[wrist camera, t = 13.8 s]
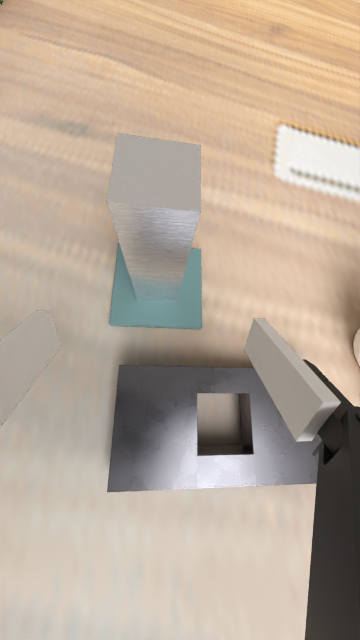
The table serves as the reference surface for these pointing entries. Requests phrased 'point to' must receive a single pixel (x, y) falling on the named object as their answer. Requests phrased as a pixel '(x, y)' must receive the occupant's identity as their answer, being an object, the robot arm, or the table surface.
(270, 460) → the block
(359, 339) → the mug
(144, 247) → the steel peg
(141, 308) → the teal mat
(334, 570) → the robot arm
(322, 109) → the table surface
